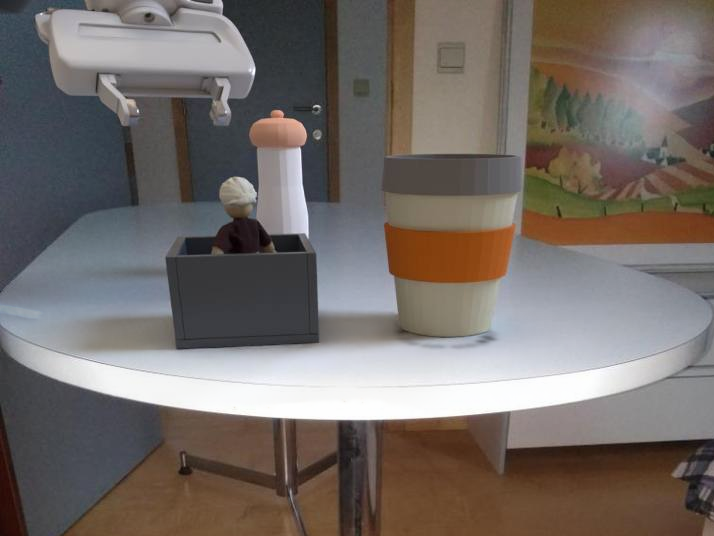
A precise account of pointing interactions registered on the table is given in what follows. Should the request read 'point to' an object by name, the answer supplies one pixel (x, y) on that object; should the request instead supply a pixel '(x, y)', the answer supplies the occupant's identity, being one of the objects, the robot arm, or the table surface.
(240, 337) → the dark grey storage bin
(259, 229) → the grandmother figurine
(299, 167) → the pepper shaker
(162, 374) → the table surface
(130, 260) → the table surface
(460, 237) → the reusable coffee cup
